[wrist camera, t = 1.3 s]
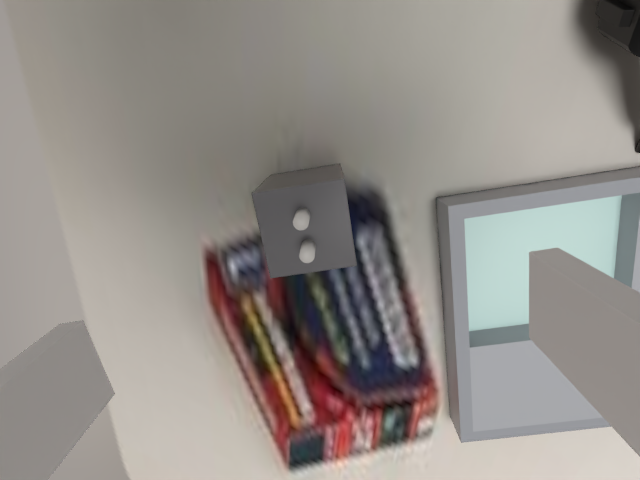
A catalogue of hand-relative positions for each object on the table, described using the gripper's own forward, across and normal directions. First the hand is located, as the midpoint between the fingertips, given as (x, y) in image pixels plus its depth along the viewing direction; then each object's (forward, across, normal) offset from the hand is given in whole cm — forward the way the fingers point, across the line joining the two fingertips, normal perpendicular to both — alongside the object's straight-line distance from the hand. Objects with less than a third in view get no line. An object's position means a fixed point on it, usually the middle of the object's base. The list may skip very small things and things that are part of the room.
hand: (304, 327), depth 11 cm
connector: (+17, 0, 0) cm, 17 cm away
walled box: (+17, +18, -11) cm, 27 cm away
